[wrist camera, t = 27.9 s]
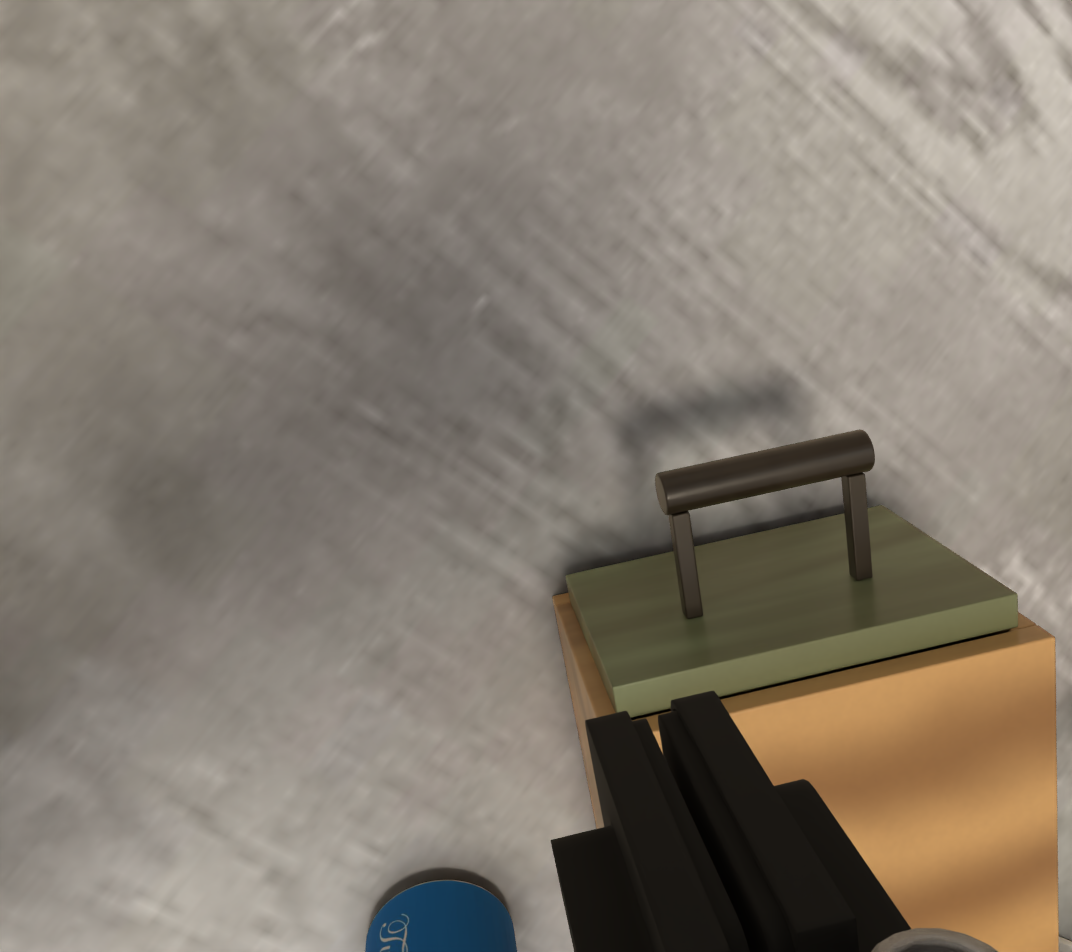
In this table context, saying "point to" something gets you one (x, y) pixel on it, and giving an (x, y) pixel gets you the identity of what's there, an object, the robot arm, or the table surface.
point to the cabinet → (913, 771)
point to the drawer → (777, 588)
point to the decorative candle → (1065, 945)
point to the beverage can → (442, 921)
